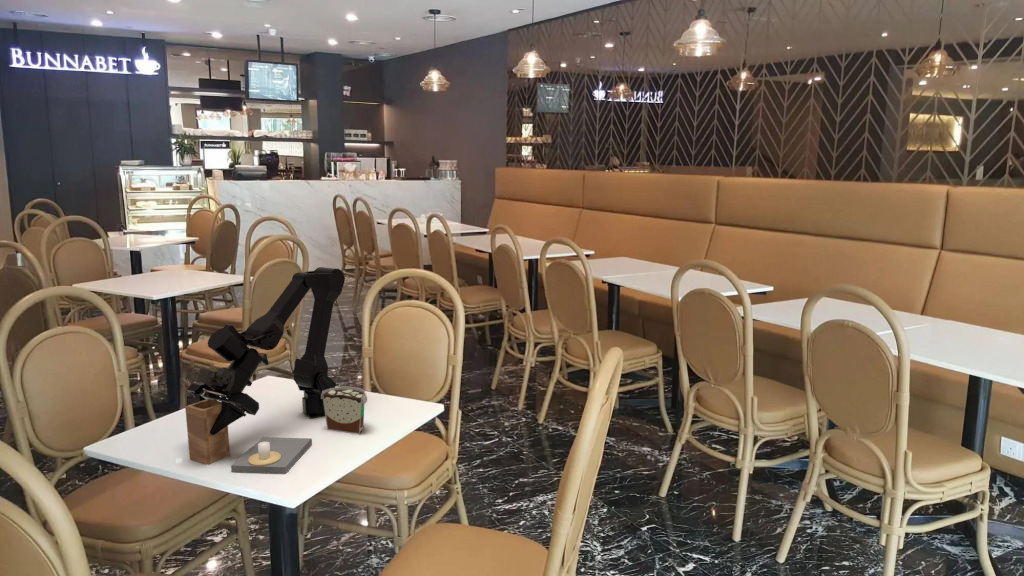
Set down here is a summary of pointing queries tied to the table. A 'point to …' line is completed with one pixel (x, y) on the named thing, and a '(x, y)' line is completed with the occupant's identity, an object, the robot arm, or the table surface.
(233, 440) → the table surface
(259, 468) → the post stand
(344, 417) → the food container
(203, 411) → the wooden pencil cup
